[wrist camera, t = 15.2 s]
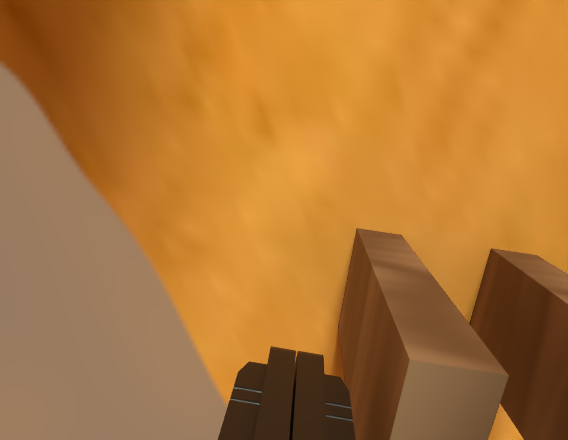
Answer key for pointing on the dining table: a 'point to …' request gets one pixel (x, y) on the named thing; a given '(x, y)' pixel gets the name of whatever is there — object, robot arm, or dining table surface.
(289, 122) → the dining table surface
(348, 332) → the domino
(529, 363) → the domino
